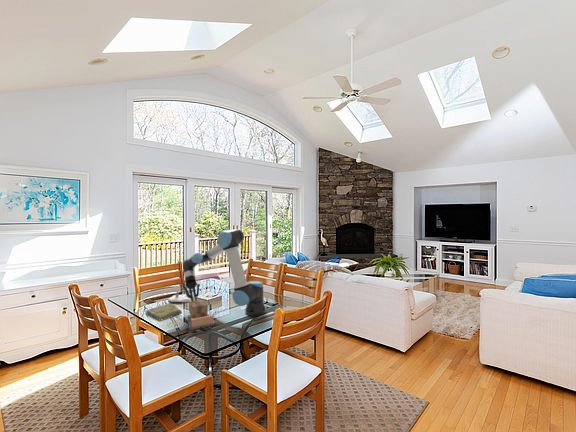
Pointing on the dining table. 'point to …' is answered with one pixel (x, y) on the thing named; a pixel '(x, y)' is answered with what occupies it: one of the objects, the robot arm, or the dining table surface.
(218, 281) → the dining table surface
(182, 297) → the figurine
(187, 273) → the robot arm
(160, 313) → the decorative tile
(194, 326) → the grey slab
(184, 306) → the dining table surface
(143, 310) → the dining table surface
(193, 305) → the oak block
